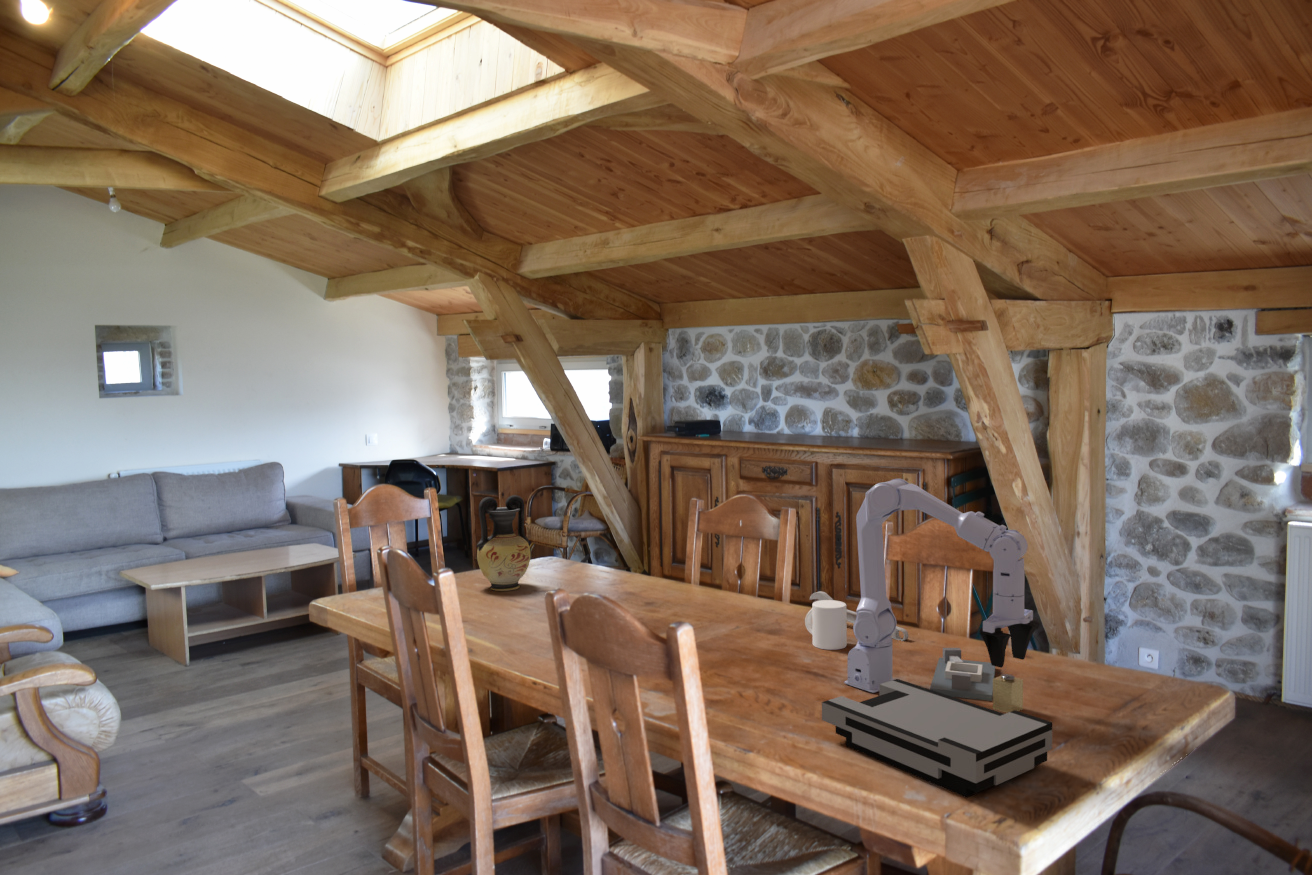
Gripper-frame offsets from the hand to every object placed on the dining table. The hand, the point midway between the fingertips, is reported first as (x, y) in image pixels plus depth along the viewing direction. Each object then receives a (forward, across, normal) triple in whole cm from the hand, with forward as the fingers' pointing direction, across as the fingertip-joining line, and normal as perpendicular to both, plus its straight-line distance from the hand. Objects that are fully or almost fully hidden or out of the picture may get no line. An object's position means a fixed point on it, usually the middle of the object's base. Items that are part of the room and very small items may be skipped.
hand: (1008, 662), depth 172 cm
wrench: (+10, +22, +56) cm, 61 cm away
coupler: (+9, 0, 0) cm, 9 cm away
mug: (+10, +6, +53) cm, 54 cm away
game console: (+10, -29, -3) cm, 31 cm away
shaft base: (+9, +8, +15) cm, 19 cm away
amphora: (+9, -26, +161) cm, 163 cm away
